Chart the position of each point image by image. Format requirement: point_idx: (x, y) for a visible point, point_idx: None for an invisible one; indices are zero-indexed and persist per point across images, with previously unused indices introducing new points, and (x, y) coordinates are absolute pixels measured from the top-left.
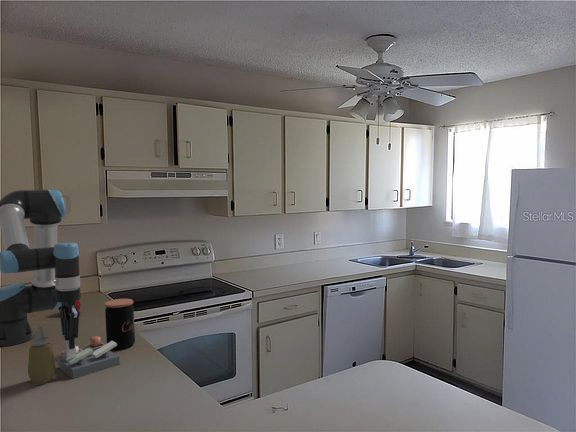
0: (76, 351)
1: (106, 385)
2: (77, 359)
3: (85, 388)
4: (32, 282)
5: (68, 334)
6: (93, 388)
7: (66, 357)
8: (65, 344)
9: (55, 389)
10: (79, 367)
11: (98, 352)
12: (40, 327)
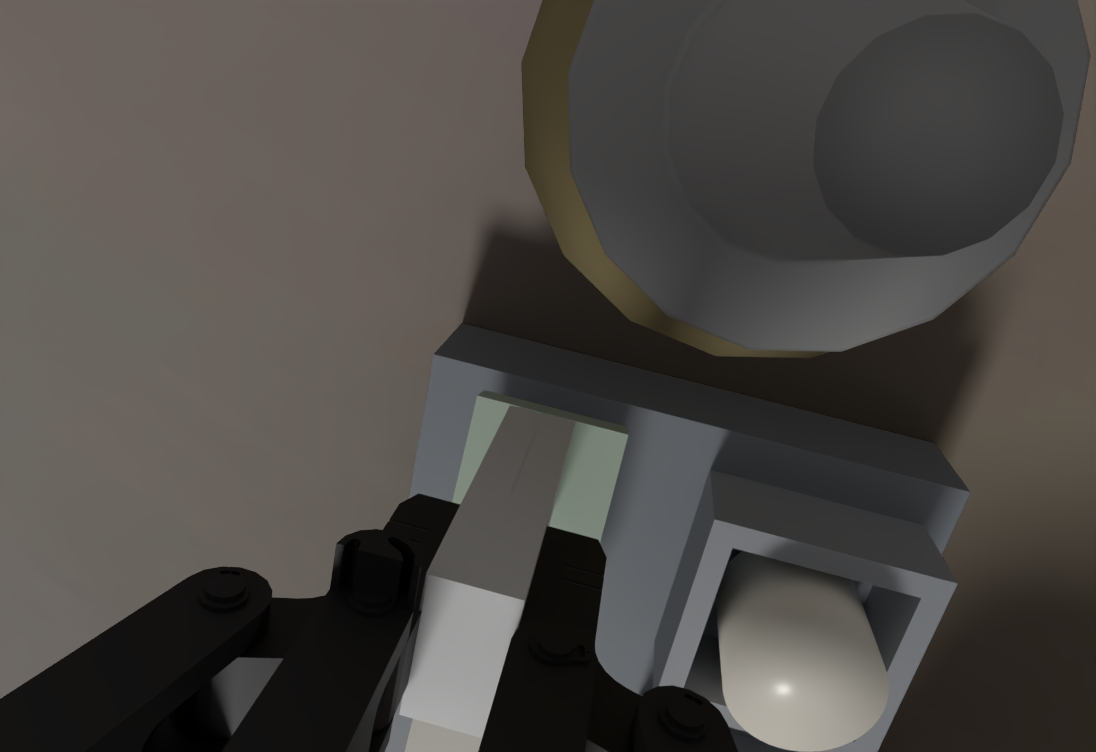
0: (720, 653)
1: (42, 375)
2: (457, 489)
3: (129, 236)
4: None
5: (286, 663)
6: (70, 275)
7: (555, 422)
8: (540, 532)
9: (361, 49)
10: (433, 437)
11: (442, 734)
12: (953, 225)
